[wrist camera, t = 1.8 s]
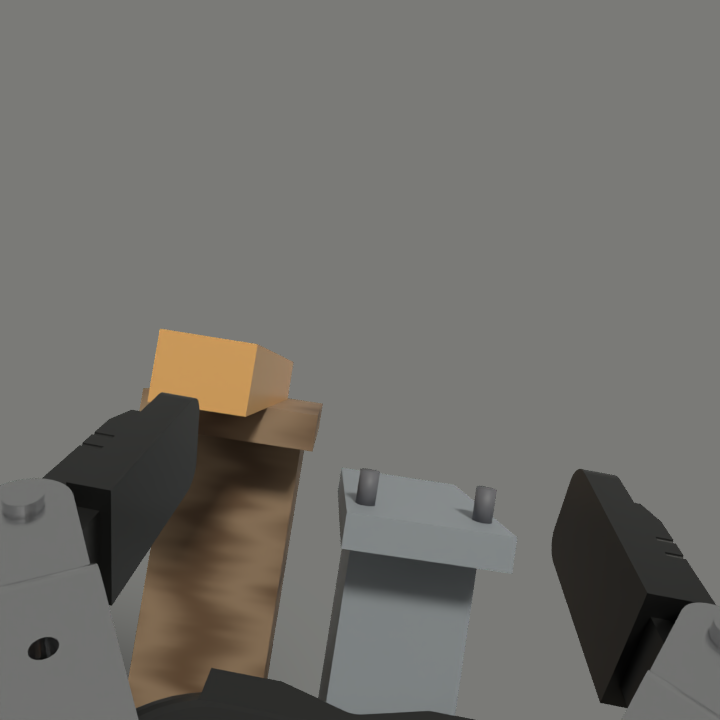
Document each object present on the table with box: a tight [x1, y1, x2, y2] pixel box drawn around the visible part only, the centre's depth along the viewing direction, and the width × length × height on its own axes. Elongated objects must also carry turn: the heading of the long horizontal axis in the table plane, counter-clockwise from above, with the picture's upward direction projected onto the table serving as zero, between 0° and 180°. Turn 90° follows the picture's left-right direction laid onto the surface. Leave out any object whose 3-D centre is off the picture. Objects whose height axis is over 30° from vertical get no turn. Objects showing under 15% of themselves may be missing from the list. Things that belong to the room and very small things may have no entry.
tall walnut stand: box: [128, 388, 323, 708], centre depth 38 cm, size 10×16×32 cm, turn 3°
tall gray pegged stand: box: [318, 468, 517, 716], centre depth 39 cm, size 10×16×29 cm, turn 3°
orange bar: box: [147, 329, 293, 417], centre depth 34 cm, size 4×22×3 cm, turn 3°
